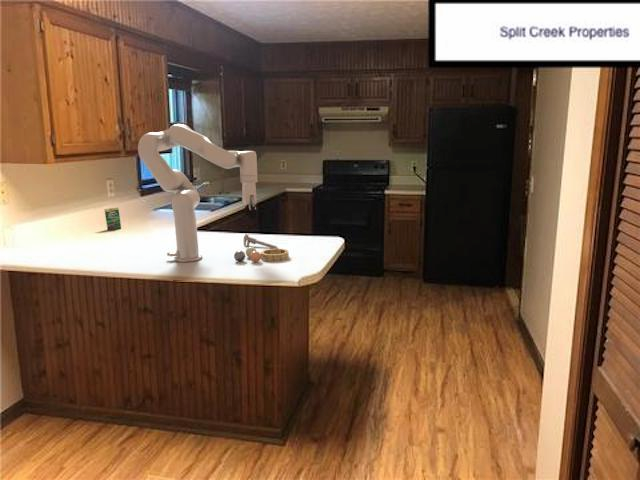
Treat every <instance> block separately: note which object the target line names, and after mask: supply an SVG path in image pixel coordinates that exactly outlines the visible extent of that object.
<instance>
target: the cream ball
mask: <svg viewBox="0 0 640 480" xmlns="http://www.w3.org/2000/svg"><path fill="white" fill-rule="evenodd" d="M253 251H257V249H256V248H255V247H254V246H247V248H246V249H245V256H246V257H248V258H250V254H251V253H252V252H253Z"/></svg>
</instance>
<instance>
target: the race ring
mask: <svg viewBox="0 0 640 480" xmlns="http://www.w3.org/2000/svg"><path fill="white" fill-rule="evenodd" d="M260 254H261V259H260V260H261V261H264V262H273V263H274V262H283V261H286V260H288V259H289V257H290V254H289V250H288V249H285V248H278V249H273V248H268V249H264V250H261V251H260Z"/></svg>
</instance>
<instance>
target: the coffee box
mask: <svg viewBox="0 0 640 480" xmlns="http://www.w3.org/2000/svg"><path fill="white" fill-rule="evenodd" d="M104 215H105V223H106V230H107V231H112V230H120V229H122V225H121V217H120V211H119V207H112V208H104Z"/></svg>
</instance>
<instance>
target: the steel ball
mask: <svg viewBox="0 0 640 480" xmlns="http://www.w3.org/2000/svg"><path fill="white" fill-rule="evenodd" d="M233 258H234V260H235V261H236V262H240V263H241V262H244V261H245V259H246V252H244V251H242V250H236V252H235V253H234V254H233Z"/></svg>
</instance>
